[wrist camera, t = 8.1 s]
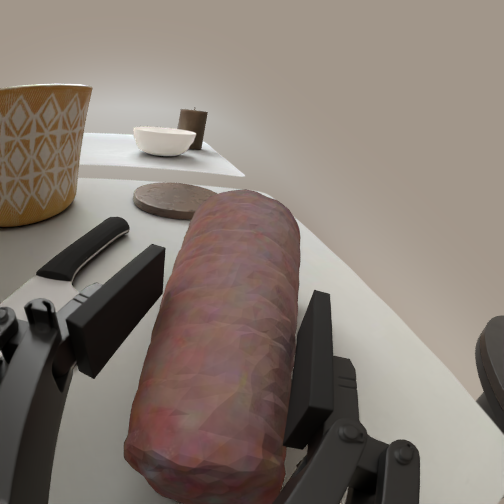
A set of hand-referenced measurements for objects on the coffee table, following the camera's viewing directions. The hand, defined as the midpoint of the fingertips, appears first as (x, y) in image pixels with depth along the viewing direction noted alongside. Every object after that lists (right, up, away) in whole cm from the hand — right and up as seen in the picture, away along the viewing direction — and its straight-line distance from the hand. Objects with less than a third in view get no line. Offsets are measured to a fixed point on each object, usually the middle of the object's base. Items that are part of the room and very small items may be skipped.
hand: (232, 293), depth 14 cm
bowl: (-25, +30, +64) cm, 75 cm away
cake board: (-10, +10, +30) cm, 33 cm away
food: (-2, -5, +4) cm, 7 cm away
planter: (-31, +8, +18) cm, 37 cm away
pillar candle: (-22, +39, +85) cm, 96 cm away
